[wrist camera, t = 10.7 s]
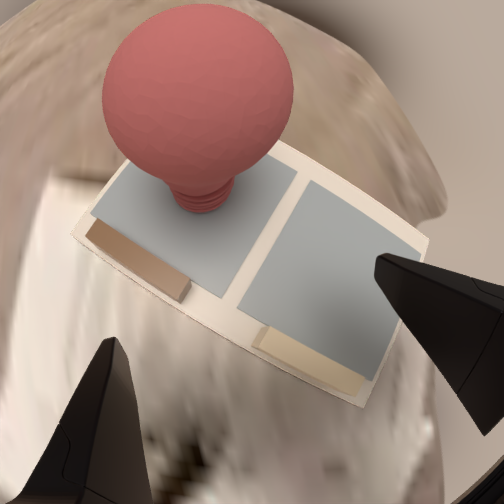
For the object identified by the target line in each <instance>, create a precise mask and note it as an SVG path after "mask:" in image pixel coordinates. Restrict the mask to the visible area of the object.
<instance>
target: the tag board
mask: <svg viewBox="0 0 504 504" xmlns="http://www.w3.org/2000/svg"><path fill="white" fill-rule="evenodd" d="M70 234H71V235H72V236H73V237H74V238H75V239H77V240H78V241H79V242H81V243H82V244H83V245H85V246H86V247H87V248H89V249H90V250H91V251H93V252H94V253H96V254H97V255H98V256H100V257H101V258H102V259H104V260H105V261H107V262H108V263H109V264H111V265H112V266H114V267H115V268H116V269H118V270H119V271H121V272H122V273H124V274H125V275H127V276H128V277H129V278H131V279H132V280H134V281H135V282H137V283H138V284H140V285H141V286H143V287H144V288H146V289H147V290H149V291H150V292H152V293H153V294H155V295H156V296H158V297H159V298H161V299H162V300H164V301H166V302H167V303H169V304H170V305H172V306H173V307H175V308H177V309H178V310H180V311H181V312H183V313H184V314H186V315H188V316H189V317H191V318H193V319H194V320H196V321H197V322H199V323H201V324H202V325H204V326H206V327H207V328H209V329H211V330H212V331H214V332H216V333H217V334H219V335H221V336H223V337H224V338H226V339H228V340H229V341H231V342H233V343H235V344H236V345H238V346H240V347H242V348H243V349H245V350H247V351H249V352H251V353H252V354H254V355H256V356H258V357H260V358H262V359H263V360H265V361H267V362H269V363H271V364H273V365H274V366H276V367H278V368H280V369H282V370H284V371H286V372H288V373H290V374H292V375H294V376H296V377H297V378H299V379H301V380H303V381H305V382H307V383H309V384H311V385H313V386H315V387H317V388H320V389H322V390H324V391H326V392H328V393H330V394H332V395H334V396H336V397H338V398H340V399H343V400H345V401H347V402H349V403H351V404H353V405H356V406H358V407H361V408H363V407H364V406H365V404H366V402H367V400H368V398H369V396H370V394H371V392H372V390H373V388H374V386H375V384H376V382H377V379H378V377H379V375H380V373H381V371H382V369H383V367H384V364H385V362H386V360H387V358H388V355H389V353H390V351H391V348H392V346H393V344H394V341H395V339H396V336H397V334H398V331H399V329H400V326H401V324H402V320H401V319H400V317H399V316H398V315H397V313H396V312H395V310H394V309H393V307H392V306H391V304H390V303H389V301H388V300H387V298H386V297H385V295H384V293H383V292H382V290H381V289H380V287H379V286H378V284H377V283H376V281H375V279H374V269H375V261H376V257H377V256H378V255H381V254H383V253H390V254H394V255H397V256H401V257H404V258H408V259H411V260H415V261H418V262H422V263H423V260H424V257H425V253H426V250H427V246H428V243H429V239H428V238H427V237H426V236H424V235H423V234H422V233H420V232H419V231H418V230H417V229H415V228H414V227H413V226H411V225H410V224H408V223H407V222H406V221H404V220H403V219H402V218H400V217H399V216H398V215H396V214H395V213H393V212H392V211H391V210H389V209H388V208H386V207H385V206H383V205H382V204H381V203H379V202H378V201H376V200H375V199H373V198H372V197H370V196H369V195H367V194H366V193H364V192H363V191H361V190H360V189H358V188H357V187H355V186H354V185H352V184H351V183H349V182H348V181H346V180H345V179H343V178H342V177H340V176H338V175H337V174H335V173H334V172H332V171H330V170H329V169H327V168H326V167H324V166H322V165H321V164H319V163H317V162H316V161H314V160H312V159H311V158H309V157H307V156H306V155H304V154H302V153H301V152H299V151H297V150H296V149H294V148H292V147H290V146H289V145H287V144H285V143H283V142H281V141H280V140H278V141H277V142H276V144H275V145H274V146H273V147H272V148H271V149H270V151H269V152H268V153H267V154H266V155H265V156H264V157H263V158H261V159H260V160H259V161H258V162H257V163H256V164H255V165H253V166H252V167H250V168H249V169H247V170H245V171H243V172H242V173H240V174H238V175H236V176H235V178H234V185H233V187H232V189H231V193H230V195H229V196H228V198H227V200H226V201H225V202H224V203H223V204H221V205H220V206H219V207H218V208H216V209H214V210H211V211H208V212H199V213H196V212H191V211H188V210H185V209H184V208H182V207H181V206H180V205H179V204H178V203H177V202H176V200H175V199H174V196H173V193H172V192H171V190H170V188H169V186H168V185H167V184H166V183H165V182H164V181H163V180H162V179H159V178H157V177H154V176H152V175H150V174H148V173H146V172H144V171H143V170H141V169H140V168H138V167H137V166H136V165H134V164H133V163H132V162H131V161H130V160H129V159H128V158H127V160H126V161H125V162H124V163H123V164H122V166H121V167H120V168H119V169H118V170H117V172H116V173H115V174H114V175H113V177H112V178H111V179H110V180H109V182H108V183H107V184H106V185H105V187H104V188H103V189H102V191H101V192H100V193H99V194H98V196H97V197H96V198H95V200H94V201H93V202H92V204H91V205H90V206H89V208H88V209H87V211H86V212H85V213H84V215H83V216H82V218H81V219H80V220H79V222H78V223H77V225H76V226H75V228H74V229H73V230H72V232H71V233H70Z"/></svg>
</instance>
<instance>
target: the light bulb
mask: <svg viewBox="0 0 504 504" xmlns="http://www.w3.org/2000/svg"><path fill="white" fill-rule="evenodd" d="M293 90H294V87H293V78H292V72H291V68H290V65H289V62H288V59H287V57H286V55H285V53H284V51H283V48H282V47H281V45H280V44H279V43H278V41H277V40H276V39H275V37H274V36H273V35H272V33H271V32H270V31H269V30H267V29H266V28H265V27H264V26H263V25H262V24H261V23H259V22H258V21H256V20H255V19H253V18H251V17H250V16H248V15H247V14H245V13H242V12H240V11H237V10H235V9H232V8H229V7H225V6H221V5H214V4H191V5H184V6H179V7H175V8H171V9H168V10H166V11H164V12H161V13H159V14H157V15H155V16H153V17H151V18H149V19H148V20H146V21H145V22H143V23H142V24H141V25H139V26H138V27H136V28H135V29H134V30H133V31H132V32H131V33H130V34H129V35H128V36H127V37H126V38H125V39H124V40H123V42H122V43H121V45H120V46H119V47H118V49H117V50H116V52H115V54H114V55H113V57H112V59H111V61H110V63H109V66H108V68H107V71H106V75H105V79H104V84H103V90H102V106H103V113H104V117H105V122H106V125H107V127H108V130H109V133H110V135H111V137H112V138H113V140H114V142H115V143H116V145H117V147H118V148H119V149H120V151H121V152H122V153H123V154H124V155H125V156H126V157H127V158H128V159H129V160H130V161H131V162H132V163H133V164H134V165H136V166H137V167H138V168H140V169H141V170H143V171H144V172H146V173H148V174H150V175H152V176H154V177H157V178H159V179H162V180H163V181H164V182H165V183H166V184H167V185H168V186H169V188H170V190H171V192H172V193H173V196H174V199H175V200H176V202H177V203H178V204H179V205H180V206H181V207H182V208H184V209H185V210H188V211H191V212H196V213H199V212H208V211H211V210H214V209H216V208H218V207H219V206H220V205H221V204H223V203H224V202H225V201H226V200H227V198H228V196H229V195H230V193H231V189H232V187H233V185H234V178H235V176H236V175H238V174H240V173H242V172H243V171H245V170H247V169H249V168H250V167H252V166H253V165H255V164H256V163H257V162H258V161H259V160H260V159H261V158H263V157H264V156H265V155H266V154H267V153H268V152H269V151H270V149H271V148H272V147H273V146H274V145H275V144H276V142H277V141H278V139H279V138H280V136H281V134H282V132H283V130H284V128H285V126H286V124H287V122H288V119H289V116H290V113H291V108H292V103H293Z"/></svg>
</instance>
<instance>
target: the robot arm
mask: <svg viewBox="0 0 504 504" xmlns="http://www.w3.org/2000/svg"><path fill="white" fill-rule="evenodd" d="M374 279H375V281H376V283H377V284H378V286H379V287H380V289H381V290H382V292H383V293H384V295H385V297H386V298H387V300H388V301H389V303H390V304H391V306H392V307H393V309H394V310H395V312H396V313H397V315H398V316H399V317H400V319H401V320H402V321H403V322H404V324H405V325H406V326H407V328H408V329H409V330H410V331H411V333H412V334H413V335H414V337H415V338H416V339H417V341H418V342H419V343H420V345H421V346H422V347H423V349H424V350H425V351H426V353H427V354H428V355H429V357H430V358H431V360H432V361H433V362H434V364H435V365H436V366H437V368H438V369H439V371H440V372H441V373H442V375H443V376H444V378H445V379H446V381H447V382H448V383H449V385H450V386H451V388H452V389H453V391H454V392H455V393H456V394H457V397H458V398H459V400H460V401H461V403H462V404H463V406H464V407H465V409H466V410H467V412H468V413H469V414H470V416H471V418H472V419H473V421H474V422H475V424H476V425H477V427H478V429H479V430H480V432H481V433H482V435H483V436H485V435H487V434H488V433H489V432H490V431H491V430H492V429H493V428H494V427H495V426H496V425H497V424H498V422H500V420H501V419H502V418H503V417H504V286H501V285H496V284H493V283H489V282H486V281H482V280H479V279H476V278H472V277H471V278H470V277H469V276H466V275H463V274H459V273H456V272H452V271H449V270H446V269H442V268H439V267H436V266H432V265H429V264H425V263H422V262H418V261H415V260H411V259H408V258H404V257H401V256H397V255H394V254H390V253H383V254H381V255H378V256H377V257H376V261H375V269H374ZM6 504H154V503H153V498H152V494H151V489H150V484H149V479H148V474H147V468H146V462H145V456H144V450H143V444H142V437H141V430H140V422H139V414H138V406H137V400H136V395H135V391H134V386H133V382H132V377H131V372H130V367H129V361H128V358H127V355H126V353H125V351H124V350H123V348H122V346H121V344H120V342H119V341H118V339H117V338H116V337H111V338H107V339H104V340H103V341H102V343H101V344H100V346H99V348H98V350H97V351H96V353H95V355H94V357H93V359H92V360H91V362H90V364H89V366H88V368H87V369H86V371H85V373H84V375H83V377H82V379H81V380H80V382H79V384H78V386H77V388H76V390H75V392H74V394H73V396H72V398H71V399H70V401H69V403H68V405H67V407H66V409H65V411H64V413H63V415H62V417H61V419H60V421H59V424H58V425H57V427H56V429H55V432H54V434H53V436H52V438H51V440H50V441H49V443H48V446H47V447H46V449H45V451H44V453H43V455H42V456H41V458H40V460H39V462H38V463H37V465H36V467H35V469H34V470H33V472H32V474H31V476H30V477H29V479H28V481H27V483H26V485H25V486H24V488H23V490H22V491H21V492H20V494H19V495H18V496H17V497H16V498H14V499H13V500H12V501H10V502H8V503H6ZM451 504H504V455H503V456H502V457H501V458H500V459H499V460H498V461H497V462H496V463H495V464H494V465H493V466H492V467H491V468H490V469H489V470H488V471H487V472H486V473H485V474H484V475H483V476H482V477H481V478H480V479H479V480H478V481H477V482H476V483H475V484H473V485H472V486H471V487H470V488H469V489H468V490H467V491H465V492H464V493H463V494H462V495H461V496H460V497H458V498H457V499H456V500H455V501H454V502H452V503H451Z"/></svg>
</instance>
